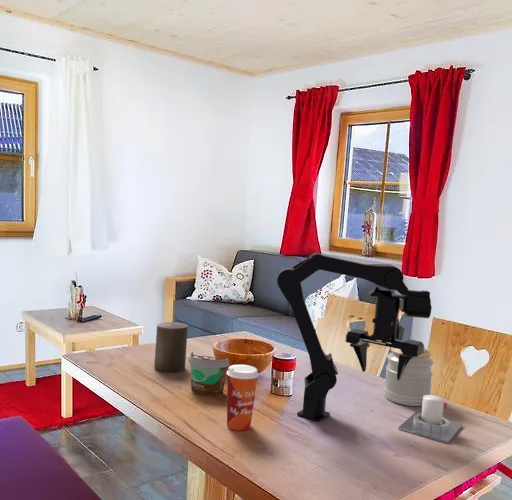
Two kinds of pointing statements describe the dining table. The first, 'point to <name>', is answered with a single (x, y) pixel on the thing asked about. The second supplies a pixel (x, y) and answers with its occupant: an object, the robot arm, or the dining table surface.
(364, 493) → the dining table surface
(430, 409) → the cylinder
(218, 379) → the food container
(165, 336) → the pillar candle
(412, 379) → the jar
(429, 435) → the plate
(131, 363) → the dining table surface
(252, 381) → the paper cup
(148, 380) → the dining table surface
